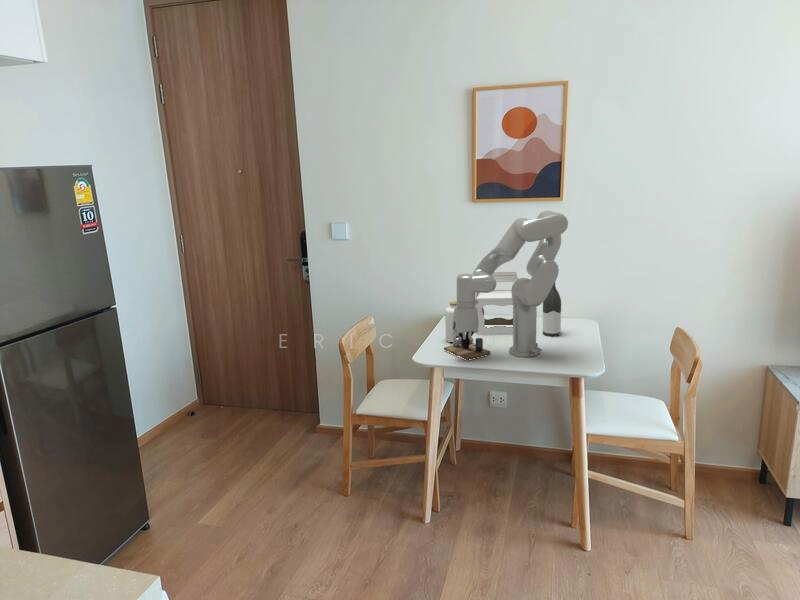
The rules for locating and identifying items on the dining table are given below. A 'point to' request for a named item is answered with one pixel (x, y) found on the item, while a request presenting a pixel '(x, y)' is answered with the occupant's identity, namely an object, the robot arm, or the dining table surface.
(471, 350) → the board
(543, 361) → the dining table surface
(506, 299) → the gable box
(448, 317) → the white container
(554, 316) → the wine bottle
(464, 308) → the robot arm
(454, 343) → the lever
